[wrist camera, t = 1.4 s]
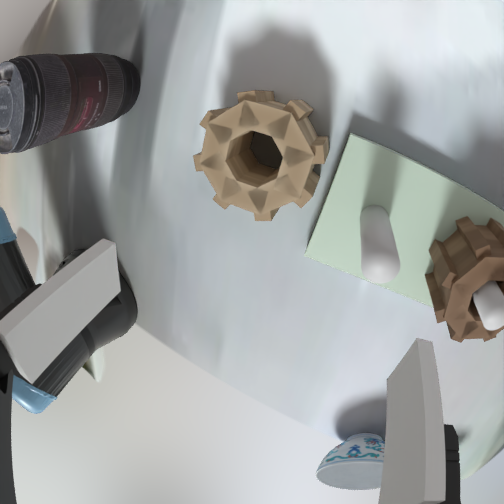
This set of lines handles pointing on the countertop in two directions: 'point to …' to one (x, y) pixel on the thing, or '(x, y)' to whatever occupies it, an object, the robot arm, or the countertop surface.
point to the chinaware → (354, 463)
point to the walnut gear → (465, 276)
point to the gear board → (397, 223)
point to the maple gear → (245, 163)
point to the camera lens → (61, 96)
